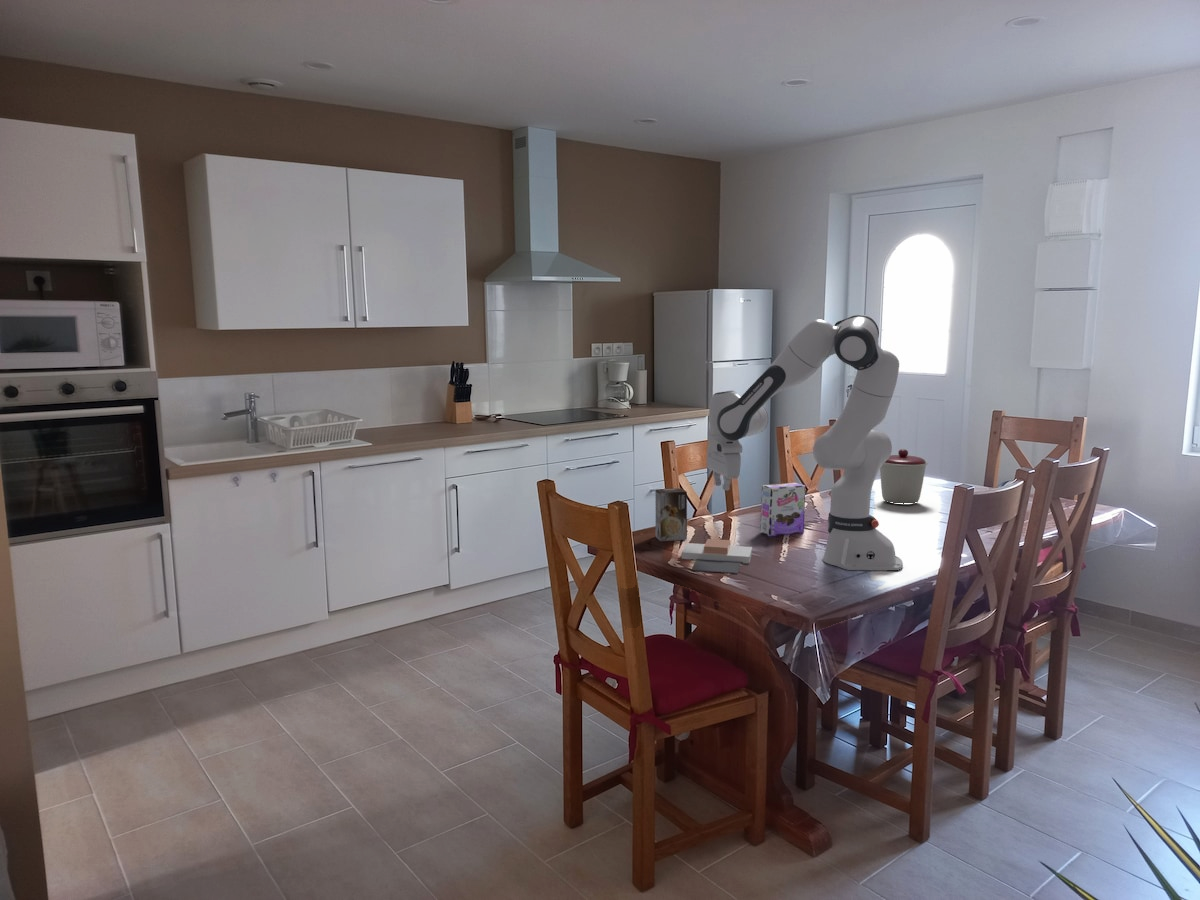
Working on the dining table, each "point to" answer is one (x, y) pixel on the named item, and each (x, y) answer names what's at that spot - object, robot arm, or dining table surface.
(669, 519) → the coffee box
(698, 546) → the deck
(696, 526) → the dining table surface
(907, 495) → the canister
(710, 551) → the tile
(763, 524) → the candy box
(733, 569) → the mat
